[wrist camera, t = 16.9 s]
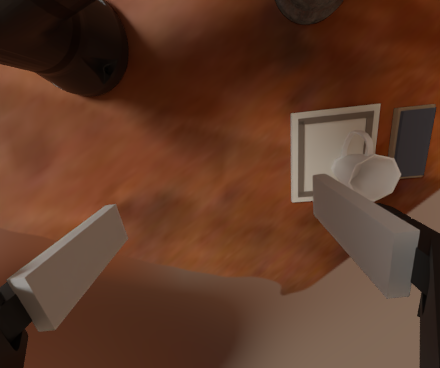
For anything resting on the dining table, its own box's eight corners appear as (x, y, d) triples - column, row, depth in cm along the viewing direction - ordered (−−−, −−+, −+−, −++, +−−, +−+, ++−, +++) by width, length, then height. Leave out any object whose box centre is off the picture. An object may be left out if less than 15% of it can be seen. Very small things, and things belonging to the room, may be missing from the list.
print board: (290, 113, 35) (292, 113, 34) (377, 103, 34) (381, 103, 33) (291, 200, 39) (292, 202, 38) (367, 194, 38) (370, 196, 37)
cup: (324, 188, 37) (348, 206, 30) (321, 133, 35) (347, 137, 27) (364, 182, 37) (400, 198, 29) (364, 125, 34) (404, 126, 26)
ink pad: (394, 108, 34) (401, 107, 32) (429, 104, 33) (439, 103, 32) (384, 178, 37) (391, 180, 36) (417, 175, 37) (425, 177, 35)
